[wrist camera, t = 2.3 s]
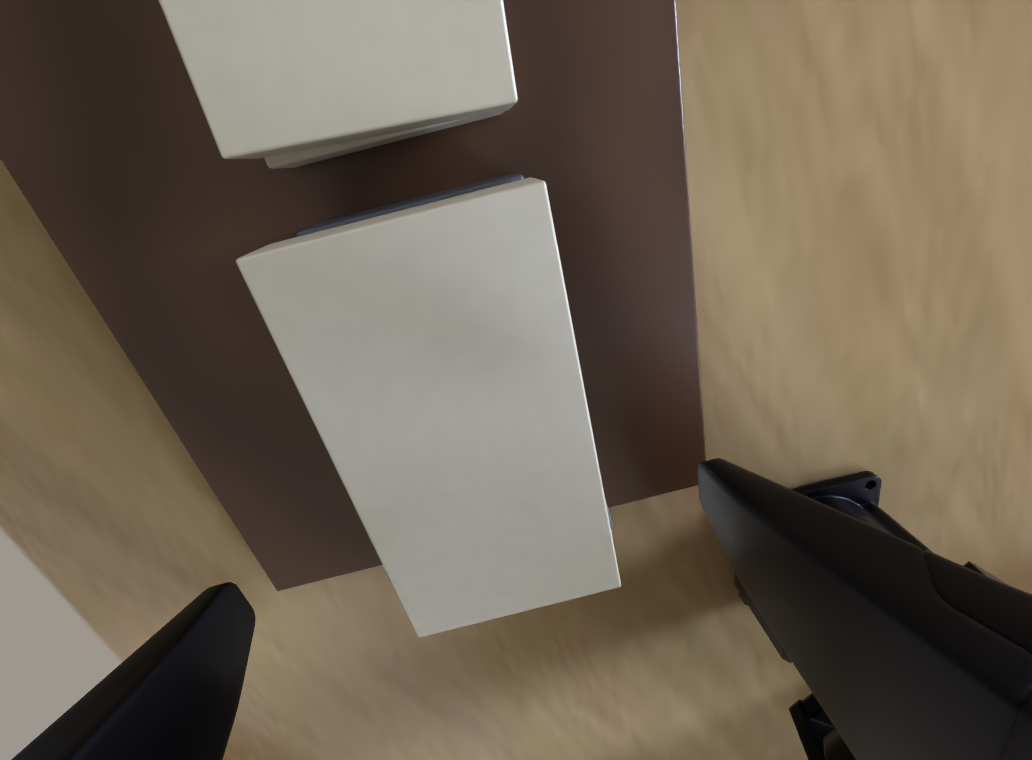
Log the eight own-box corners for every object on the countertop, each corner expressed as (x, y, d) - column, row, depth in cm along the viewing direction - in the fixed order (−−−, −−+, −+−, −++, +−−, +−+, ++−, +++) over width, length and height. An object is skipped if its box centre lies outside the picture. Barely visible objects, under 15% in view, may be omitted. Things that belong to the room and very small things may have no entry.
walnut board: (590, -783, 9) (614, -958, 7) (692, 462, 21) (708, 483, 19) (-370, -529, 9) (-523, -655, 7) (288, 563, 21) (277, 592, 19)
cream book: (532, 176, 11) (545, 179, 9) (604, 541, 15) (621, 588, 14) (268, 244, 11) (233, 259, 9) (422, 587, 15) (417, 639, 14)
